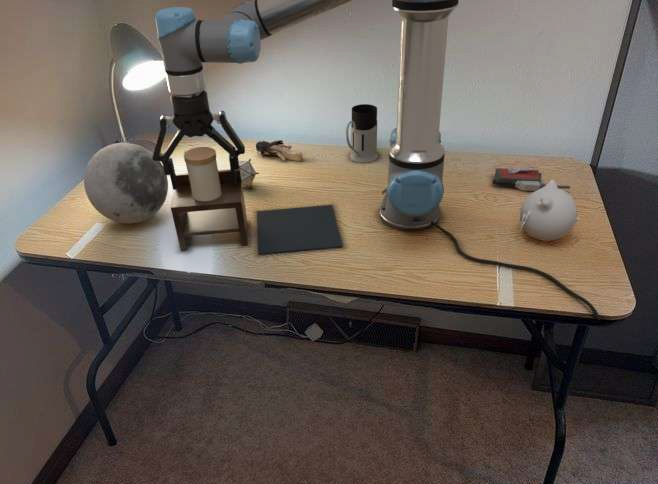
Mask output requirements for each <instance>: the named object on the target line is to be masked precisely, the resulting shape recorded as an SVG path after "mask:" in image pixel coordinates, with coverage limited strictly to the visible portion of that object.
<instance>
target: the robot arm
mask: <svg viewBox="0 0 658 484" xmlns="http://www.w3.org/2000/svg"><path fill="white" fill-rule="evenodd" d="M353 1H354V0H250V1H246V2H240V3H239V4H237V5H235V6H234V7H233V8H232V9H231V10H230V11H229V12H228V13H227V14H226V15H225V16H223V18H221V19H211V20H210V19H209V20H203V19H202V20H201V19H197V17H196V16H195V12H194V10H193V9H192V8H190V7H187V6H186V7H184V6H172V7H166V8H163V9H160V10H158V11H157V12H156V14H155V15H154V17H155V25H156V26H155V27H156V34H157V40H158V44H159V47H160V52H161V56H162V62H163V66H164V72H165V78H166V82H167V87H168V92H169V93H170V96H169V98H170V102H171V107H172V111H173V112H172V113H173V116H167V115H165V114H162V115H161V116H160V119H159V128H160V130H159V133H158V137H157V140H156V143H155V148H154V150H153V153H152V154H153V157H152V159H153V160H154V161H157V160H158V161H160V162H161V164H162V165H163V168H164V172H165V174H166V175H167V176H169V177H170V182H171V187H172V190H173V191H174V190H176V189H177V185H178V183H177V179H176V174H177V173H176V170H175V166H174V161H173V158H172V157H171V156H172V155H173V153H174V151H175V150H176V148H177V147H178V146H179V144H180V142H181V141H182V139H183V138H184V136H186V137H188V138H194V137H204V136H205V135H206V136H207V137H208V138H209V139H212V140H213V141H214V142H215V143H217V145H219V146H220V147H221V148H222V149H223V150H224V151H225V152H227V154H228V161H229V167H230V168H229V170H230V169H231V175H232V182H233V185H236V174H235V170H239V161H240V160H239V156H240V155H244V154H245V153H246V146H245V145H244V143H243V142H242V140H241V138H240V137H239V136H238V134H237V133H236V131H235V130H234V128H233V126H232V125H231V124H230V122H229V121H228V117H227V114H226V111H224V110H220V111H219V112H217V113H212V111H211V110H210V103H209V98H208V92H207V91H206V89H207V85H206V79H205V73H204V67H203V63H214V64H215V63H218V64H219V63H220V64H221V63H224V64H225V63H226V64H239V65H240V64H246V63H254V62H257V61H258V59H259V58H260V53H261V45H262V43H261V42H262V40H265V39H267V38H269V37H271V36H273V35H275V34H277V33H279V32H283V31H285V30H287V29H290V28H292V27H294V26H296V25H298V24H302V23H304V22H306V21H308V20H310V19H314V18H315V17H318V16H320V15H322V14H325V13H327V12H330V11H332V10H334V9H337V8H339V7H342V6H344V5H347V4H348V3H351V2H353ZM459 2H460V1H459V0H391V8H392V10H393V11H394V12H395V13H396V14H397V15H398V17H399V39H398V40H399V41H398V45H399V46H398V71H397V72H398V76H397V103H396V104H397V106H396V107H397V109H396V127H395V128H393V130H391V132H390V137H389V141H388V142H389V148H388V163H387V165H388V166H387V167H388V168H387V169H388V170H387V173H388V174H387V187H386V188H384V189H383V190H382V191H381V195H382V196H383V195H384V196H383V199H382V200H381V204H380V207H379V218H380V220H381V222H382V223H383V224H385V225H386V226H388V227H390V228H392V229H394V230H399V231H404V232H418V231H425V230H428V229H431V228H433V227H435V228H436V229H437V230H439V231H440V232H442V233H444V234H445V235H447V237H449V238H450V239H451V240H452V241H453V244H454V246H455V249H456V251H457V252H458V253H459V254H460V255H461V256H462V257H464V258H466V259H468V260H470V261H473V262H476V263H482V264H490V265H496V266H501V267H505V268H512V269H518V270H524V271H528V272H533V273H535V274H538V275H541V276H543V277H545V278H547V279H549V280H550V281H552V282H553V283H554V284H556V285H557V286H559V288H561V289H562V290H563V291H565V292H566V293H567V294H569V295H571V296H572V297H573V298H576V300H579V301H581V303H584V304H585V305H586V306H587V307H588V308H589V309H590V311H591V312H592V314H593V315H594V317H595V320H597V321H601V316H600V315H599V312H598V311H597V309H596V307H595V306H594V305H593V304H592V303H591V302H590V301H588V300H587V299H586V298H584V296H583V297H582V295H579V294H578V293H576V292H574V291H573V290H571V289H570V288H568V287H567V286H565V285H564V284H563V283H561V282H560V281H559V279H556V278H555V277H554V276H552V275H551V274H549V273H547V272H544V271H542V270H539V269H537V268H534V267H529V266H525V265H518V264H512V263H506V262H501V261H496V260H491V259H490V260H489V259H483V258H477V257H475V256H471V255H468V254H467V253H465V252H464V251H463V250H462V249H461V248H460V245H459V242H458V240H457V239H456V237H455V236H454V235H453V234H452V233H450V232H449V231H447V230H446V229H445V228H443V227H441V226H440V225H439V224H438V223H439V221H440V219H441V206H440V205H441V202H442V200H443V197H444V193H445V186H444V181H443V180H444V179H443V178H444V166H445V154H446V149H445V146H444V145H442V144H441V143H442V133H441V131H440V125H441V114H442V113H441V112H442V103H443V102H442V100H443V89H444V88H443V87H444V78H445V77H444V75H445V64H446V54H447V53H446V51H447V38H448V27H449V17H450V15H451V14H452V13H453V12H454V11H455V10H456V9H457V8H458V7H459ZM214 121H215V122H216V123H217V124H218V125H221V128H222V130H223V131H224V132H225V134H226V135H227V137H228V138H229V140H230V141H231V142H232V143H231V142H229V140H228V139H226V138H225V137H224V136H223V135H222V134H221V133H220V132H218V131H217V130H216V128H215V127H214V126H213V125H212V124H213V122H214ZM171 125H174V126H175V127H176V128H177V129H178V130H177V131H176V133H175V135H174V137H173V138H172V139H171V141H170V142H169V144H168V146H167V147H166V149H165V150H164V152H163V153H162V152H161V150H162V147H163V144H164V140H165V137H166V133H167V130H168V129H169V128H170V127H171Z"/></svg>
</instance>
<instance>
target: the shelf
mask: <svg viewBox="0 0 658 484" xmlns="http://www.w3.org/2000/svg"><path fill="white" fill-rule="evenodd" d="M218 173H219V179H220V185H221V191H222V194H221V196H220V197H218V198H217V199H214V200H211V201H198V200H195V199H194V198H193V196H192V191H191V186H190V181H189V176H188V172H183V173H175V174H176V179H177V183H178V185H177V189H176V190H173V195H172V199H171V203H170V212H171V215H172V221H173V224H174V229H175V232H176V237H177V241H178V246H179V250H180V252H181V253H183V252H187V251H188V249H189V248H188V247H189V240H190V237H198V236H210V235H219V234H231V233H232V234H233V233H239V239H240V245H241V247H246V246H247V247H248V243H249V242H248V241H249V240H248V236H249V234H248V228H249V227H248V226H249V225H248V216H247V209H246V202H245V194H244V187H243V186H242V179H241V172H240V169H239V170H235V174H236V185H233V182H232V175H231V169H230V168H229V169H218Z"/></svg>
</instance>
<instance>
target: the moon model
mask: <svg viewBox="0 0 658 484" xmlns="http://www.w3.org/2000/svg"><path fill="white" fill-rule="evenodd" d="M153 154H154V153H152V152H151V151H150V150H148V149H147V148H145V147H143V146H141V145H138V144H136V143H135V144H134V143H131V142H117V143H112V144H108V145H107V146H104V147H102V148H100V149H99V150H98V151H97V152H96V153H94V155H92V156H91V158H90V159H89V161H88V163H87V165H86V167H85V170H84V175H83V186H84V191H85V194H86V197H87V198H88V200H89V203H90V204H91V205H92V207H93V208H94V209H95V210H96V211H97V212H98V213H99V214H100V215H102V216H103V217H105V218H106V219H109V220H110V221H112V222H115V223H121V224H137V223H141V222H145V221H146V220H148V219H150V218H152V217H153V216H155V215H156V214H157V213H158V212H159V211H160V210H161V208H162V207H163V206H164V204H165V202H166V199H167V196H168V191H169V180H168V175H166V174H165V172H164V168H163V164H162V162H161V161H158V160H157V161H154V160H153V159H152V157H153Z"/></svg>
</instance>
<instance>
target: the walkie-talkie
mask: <svg viewBox="0 0 658 484" xmlns="http://www.w3.org/2000/svg"><path fill="white" fill-rule="evenodd" d="M493 177H494V179H493V180H491V181H492V182H491V183H492V184H493V185H495V186H496V187H499V188H515V189H518V190H521V191H526V192H529V191H530V192H535V191H537V190H539V189H541V188H543V187H545V186H546V185H547V184H544V183H543V184H542V183H541V182H542V181H543V178H542V173H541V172H539V170H538V169H536V168H535V167H534V166H518V167H516V168H512V167H507V168H502V167H497V168H495V171H494V175H493ZM557 187H558V188H559V189H561V190H564V189H565V190H569V189H571V186H570V185H558V184H557Z"/></svg>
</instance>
